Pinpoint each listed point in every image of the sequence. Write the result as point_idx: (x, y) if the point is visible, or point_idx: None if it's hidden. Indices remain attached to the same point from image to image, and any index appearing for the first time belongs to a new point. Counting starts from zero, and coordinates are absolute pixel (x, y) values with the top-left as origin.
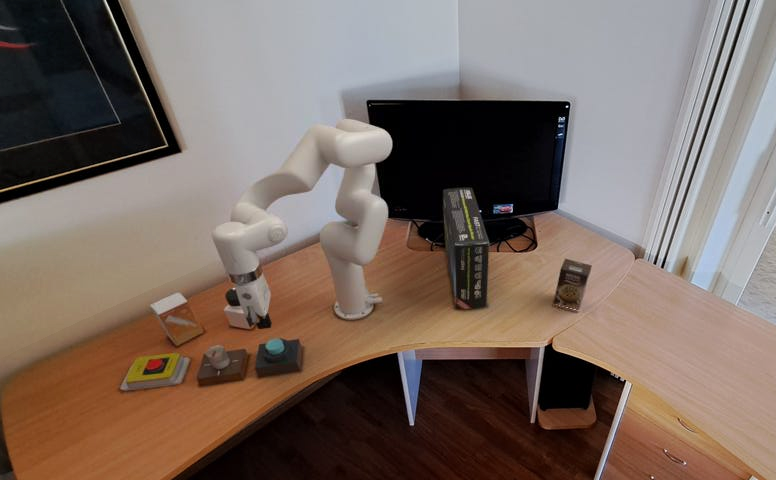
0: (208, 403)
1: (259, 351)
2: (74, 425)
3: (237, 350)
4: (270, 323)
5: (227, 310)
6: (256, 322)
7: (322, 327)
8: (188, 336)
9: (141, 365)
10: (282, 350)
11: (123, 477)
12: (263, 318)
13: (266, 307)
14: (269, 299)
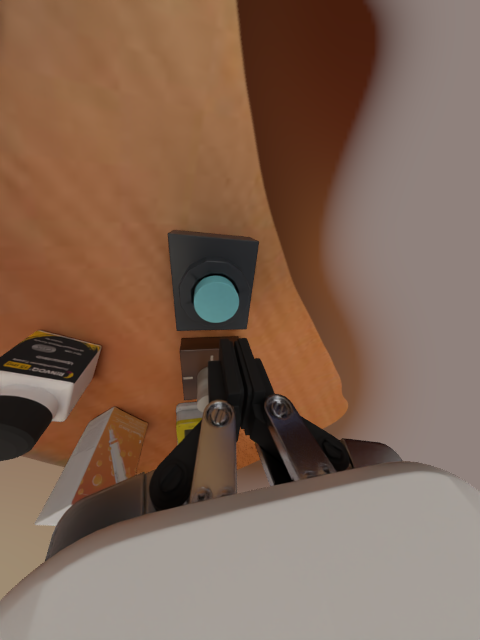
0: (267, 366)
1: (201, 327)
2: (249, 446)
3: (182, 361)
4: (240, 347)
5: (65, 415)
6: (392, 458)
7: (72, 149)
8: (130, 422)
9: None
10: (227, 279)
11: (322, 402)
12: (288, 408)
13: (459, 558)
14: (219, 547)
